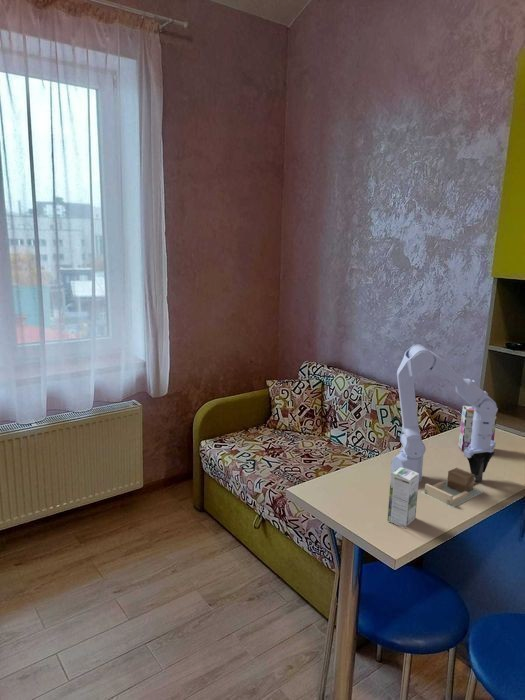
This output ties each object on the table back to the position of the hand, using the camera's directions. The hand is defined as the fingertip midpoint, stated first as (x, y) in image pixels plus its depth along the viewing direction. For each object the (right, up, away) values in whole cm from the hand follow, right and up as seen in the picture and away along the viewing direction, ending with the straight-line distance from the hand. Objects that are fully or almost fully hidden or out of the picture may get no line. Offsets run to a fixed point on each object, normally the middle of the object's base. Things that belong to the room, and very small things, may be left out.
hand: (477, 472), depth 156 cm
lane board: (-11, -5, -7) cm, 14 cm away
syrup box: (-30, -8, -21) cm, 38 cm away
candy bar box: (+10, +2, +26) cm, 28 cm away
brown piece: (-4, -3, -2) cm, 6 cm away
